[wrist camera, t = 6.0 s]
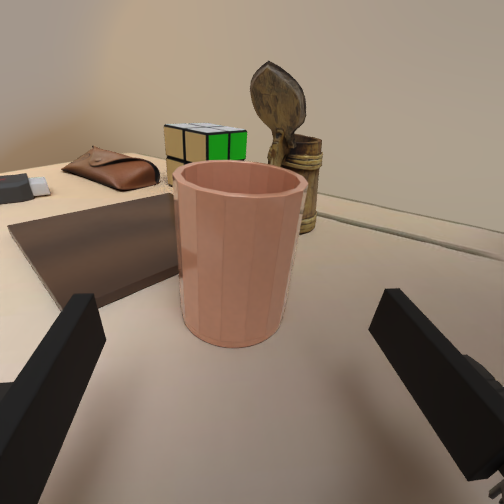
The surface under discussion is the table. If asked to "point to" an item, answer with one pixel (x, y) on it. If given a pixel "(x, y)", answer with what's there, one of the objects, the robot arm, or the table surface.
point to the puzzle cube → (202, 144)
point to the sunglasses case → (114, 169)
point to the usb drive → (21, 188)
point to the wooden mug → (288, 131)
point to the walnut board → (102, 249)
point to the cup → (236, 247)
